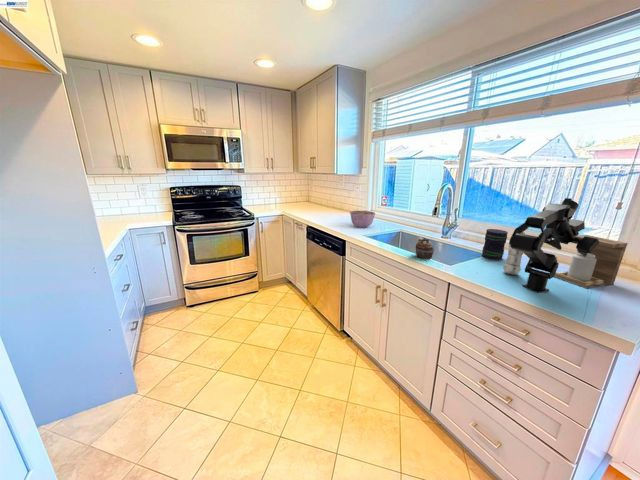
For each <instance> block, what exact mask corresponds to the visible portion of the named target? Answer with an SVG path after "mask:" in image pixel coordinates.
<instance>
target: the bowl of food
mask: <svg viewBox="0 0 640 480" xmlns="http://www.w3.org/2000/svg"><path fill="white" fill-rule="evenodd" d="M349 214H350V220H351V223H352V224H353V225H354V226H355V227H357V228H358V229H359V228H360V229H363V228H365V229H366V228H368V227H369V226H371V225H372V224H373V223H374V219H375V215H376V212H374V211H369V210H351V211H349Z"/></svg>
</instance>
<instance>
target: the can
mask: <svg viewBox="0 0 640 480" xmlns="http://www.w3.org/2000/svg"><path fill="white" fill-rule="evenodd" d="M595 257H596V256H595V255H593V254H590V253H587V256H586V257H584V256H583V255H581V254H580V253H579V252H578V251H576V252H575V253H574V254H573V255H572V258H571V260H570V265H569V268H568V274H567V276H569V277H572V278H575V279H577V280H580V281H583V282H587V281H590V280H591V277H592V274H593V270H594V267H595V264H596V261H597V259H596V258H595Z"/></svg>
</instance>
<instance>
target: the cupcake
mask: <svg viewBox="0 0 640 480" xmlns="http://www.w3.org/2000/svg"><path fill="white" fill-rule="evenodd" d="M434 252H435V248H434V245H433V244H432V242H431V241H430V239H427V238H425V237H424V238H423V239H421V238H420V239H419V238H418V240H417V242H416V244H415V255H416V256H415V257H417V258H418V259H422V260H431V259H433V255H434Z"/></svg>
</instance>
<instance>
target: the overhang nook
mask: <svg viewBox="0 0 640 480" xmlns="http://www.w3.org/2000/svg"><path fill="white" fill-rule="evenodd" d="M585 236H588V237H593V238H598V240H599V244H598V245H597V246H596V247H595V248H594V249H593V250H592V251H591V252H590V254H593V255H595V256H596V257H595V258H596V259H597V261H596V264H595V267H594V270H593V274H592V277H591V280H590V281H587V282H583V281H580V280H577V279H575V278H572V277H569V276H567V274H568V271H569V270H568V271H560V272H559V271H558V272H556V273H555V276H554V277H553V278H555V279H558V280H560V281H563V282H566V283H569V284H571V285H575V286H577V287H580V288H583V289H592V288H599V287H601V288H602V287H606V286H614V285H615V282H616V278H617V275H618V273H619V270H620V267H621V264H622V261H623V258H624V255H625V252H626V249H627V246H628V242H624V241H618V240H614V239H610V238H609V239H608V238H604V237H598V236H594V235H590V234H582V235H580V234H579V235H578V236H575V237H577V238H581V239H583V238H584V237H585Z"/></svg>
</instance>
